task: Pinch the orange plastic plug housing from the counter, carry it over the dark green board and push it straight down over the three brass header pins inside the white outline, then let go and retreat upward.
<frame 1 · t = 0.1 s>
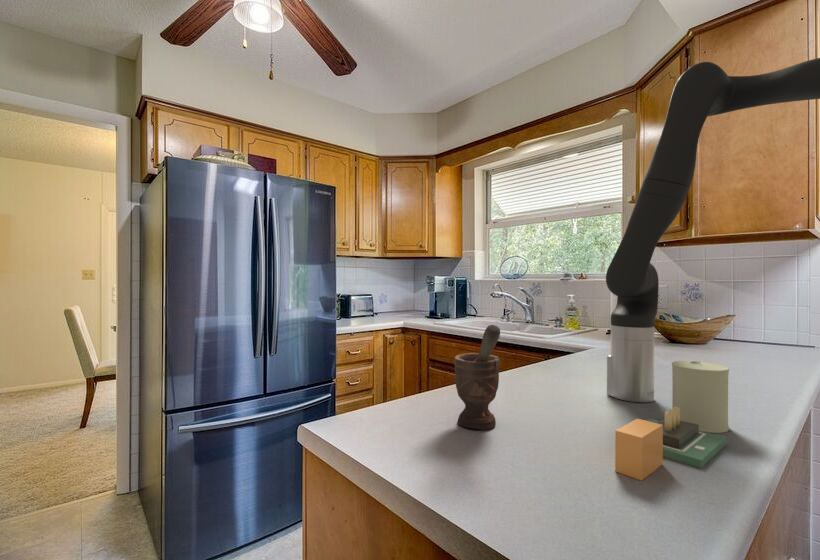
can: (699, 425, 79), on the countertop
plug housing: (639, 467, 61), on the countertop
header board: (672, 443, 70), on the countertop
mortar and pestle: (482, 427, 77), on the countertop
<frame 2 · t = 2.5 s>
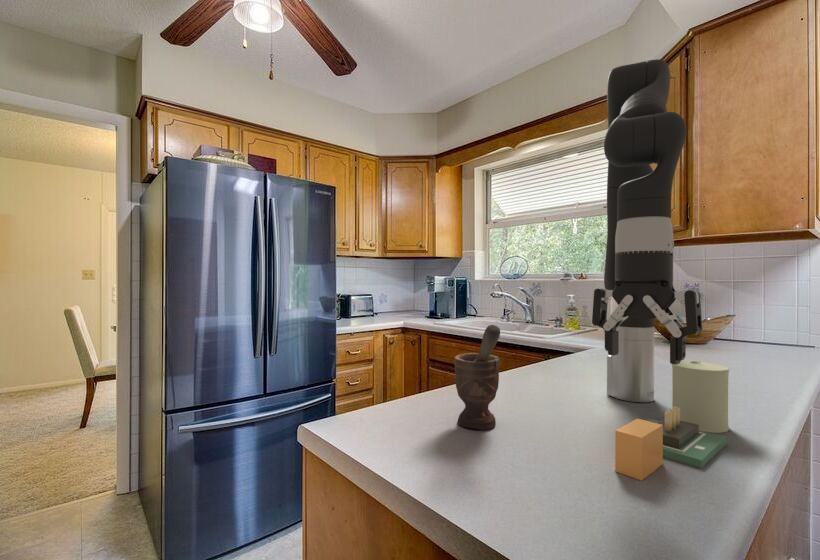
hand: (642, 358, 61), 16 cm above the countertop, tool pointing down, fingers open, 8 cm apart
nothing on the countertop moved.
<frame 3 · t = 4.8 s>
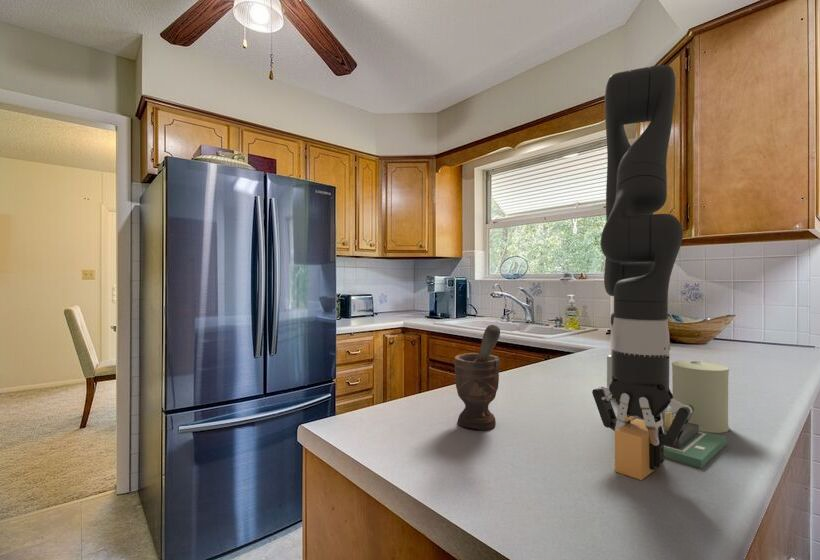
hand: (639, 462, 61), 1 cm above the countertop, tool pointing down, fingers closed on plug housing, 3 cm apart
plug housing: (639, 467, 61), on the countertop, touching gripper
everything else where it was.
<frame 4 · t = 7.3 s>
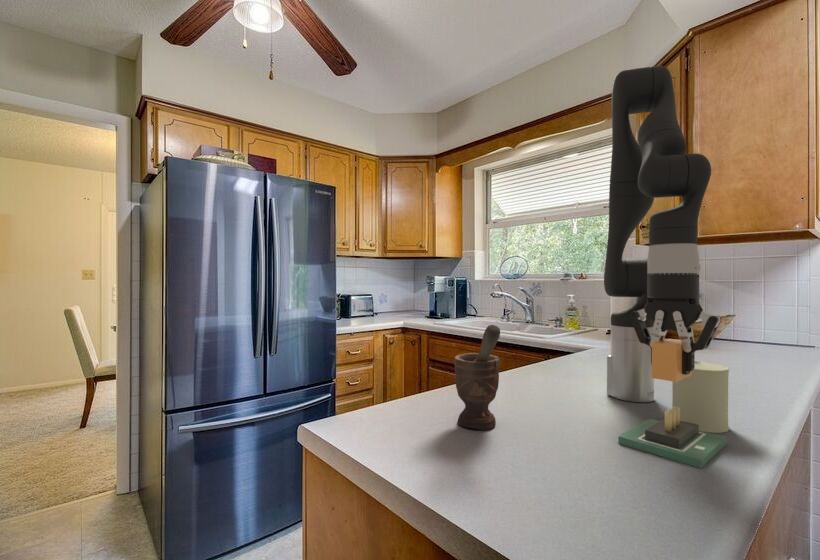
hand: (672, 371, 70), 12 cm above the countertop, tool pointing down, fingers closed on plug housing, 3 cm apart
plug housing: (672, 376, 70), point 12 cm above the countertop, touching gripper
everything else where it was.
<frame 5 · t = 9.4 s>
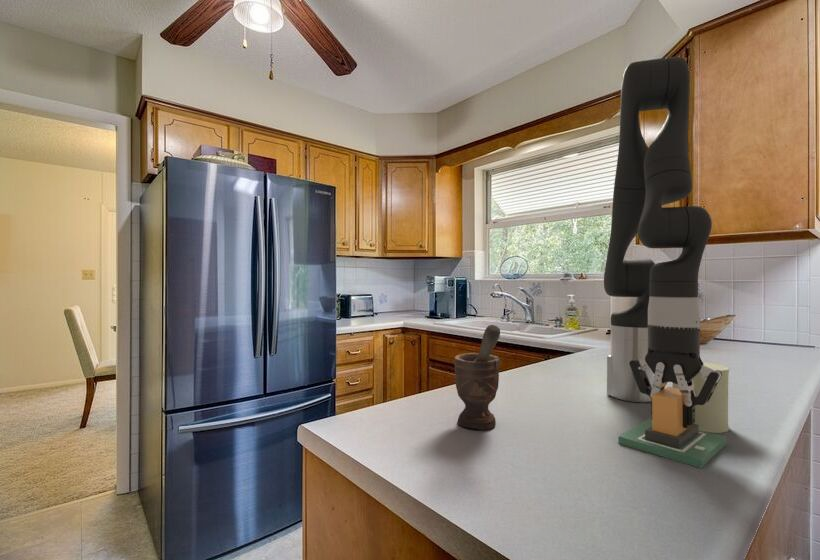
hand: (672, 423, 70), 4 cm above the countertop, tool pointing down, fingers closed on plug housing, 3 cm apart
plug housing: (672, 427, 70), point 3 cm above the countertop, touching gripper, header board
everything else where it was.
when the fingers open (3 cm above the countertop, at t = 10.3 s): plug housing stays where it is, resting on header board.
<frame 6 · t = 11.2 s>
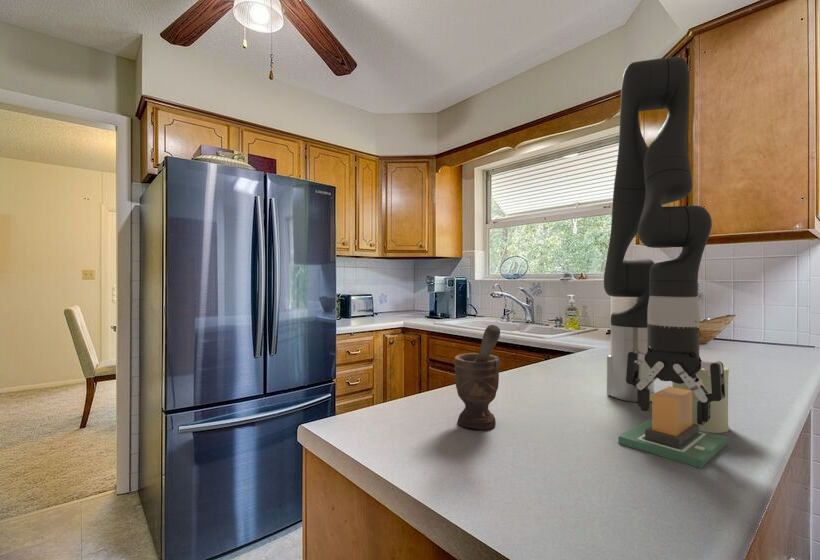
hand: (672, 416, 70), 5 cm above the countertop, tool pointing down, fingers open, 8 cm apart
plug housing: (672, 427, 70), point 3 cm above the countertop, touching header board
everything else where it was.
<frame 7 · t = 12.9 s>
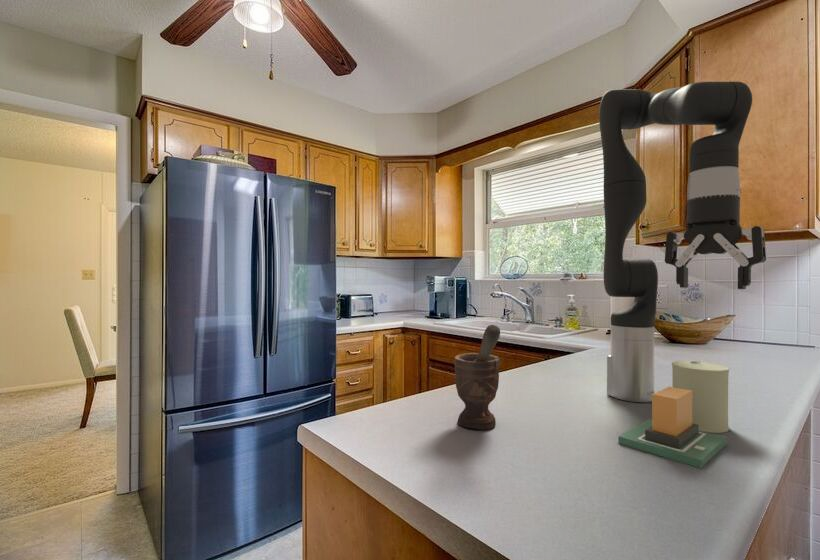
hand: (711, 288, 72), 27 cm above the countertop, tool pointing down, fingers open, 8 cm apart
nothing on the countertop moved.
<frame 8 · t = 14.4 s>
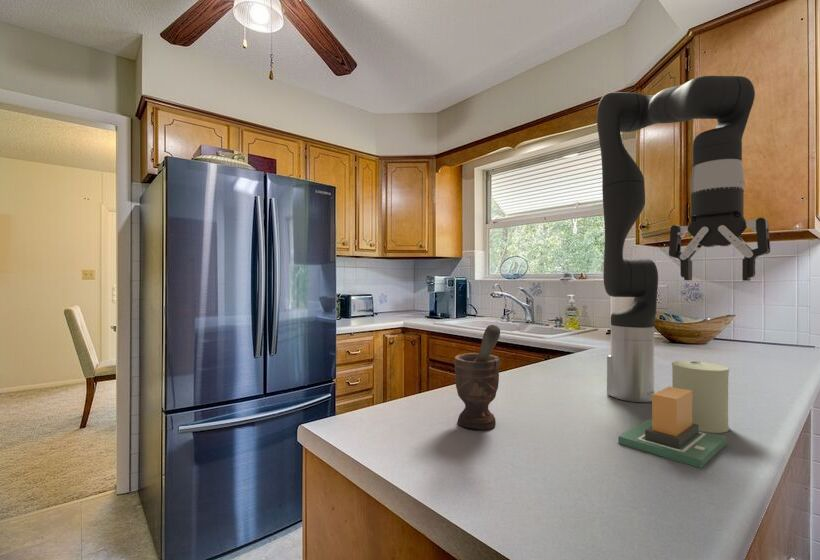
hand: (716, 280, 72), 28 cm above the countertop, tool pointing down, fingers open, 8 cm apart
nothing on the countertop moved.
at the end: plug housing 0.1 cm off-centre on the header board, point 2.8 cm above the header board's base; plug housing tilted 0°; the gripper is holding nothing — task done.
